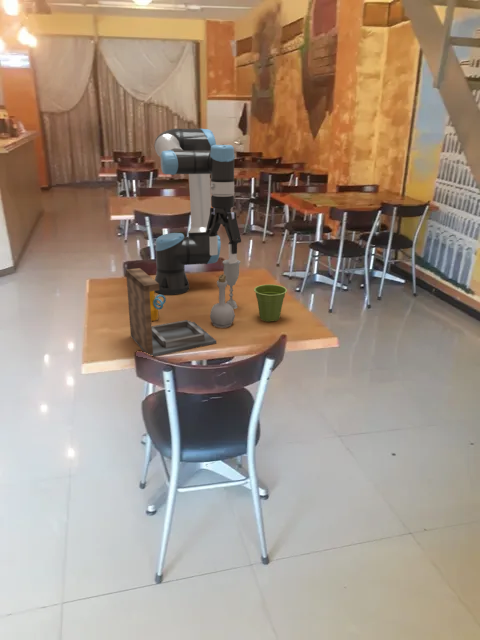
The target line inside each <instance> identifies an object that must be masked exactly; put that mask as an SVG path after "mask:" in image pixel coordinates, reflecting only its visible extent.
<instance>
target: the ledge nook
mask: <svg viewBox="0 0 480 640" xmlns="http://www.w3.org/2000/svg"><path fill="white" fill-rule="evenodd" d="M125 270H126V271H125V275H126V286H127V287H126V288H127V291H126V292H127V300H128V301H127V302H128V303H127V304H128V313H129V314H128V315H129V318H128V319H129V328H130V329H129V331H130V337H131V338H132V339H133V341H134V342H135V343H136V344H137V346H138V347H139V348H140V349H141V350H142V352H143V351H144V352H146V353H148V354H150V355H153V356H154V357H157V356H164V355H168V354H172V353H177V352H182V351H187V350H191V349H197V348H200V346H202V347H205V346H206V347H207V346H210V345H211V346H212V345H215V344H217V340H216V339H215V338H214V337H213V336H212V335H210V334H209V333H208V332H207V331H205V330H204V329H203V328H202V327H201V326H200V325H199V324H197V323H196V322H195V321H191V320H188V319H184V320H180V321H179V320H178V321H174V322H169V323H162V324H156V325H152V321H151V309H150V291H157V290H159V283H158V282H156V281H155V278H154V279H153V277H151V276H150V275H149V274H148V273H147V272H145V271H144V270H143V269H141V267H139V268H129V269H125ZM196 347H197V348H196ZM144 352H143V353H144Z"/></svg>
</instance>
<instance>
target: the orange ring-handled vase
mask: <svg viewBox="0 0 480 640" xmlns="http://www.w3.org/2000/svg"><path fill="white" fill-rule="evenodd" d="M152 278H153V277H152ZM153 279H154V280H155V278H153ZM160 297H161V298H163V301H162V299H160ZM166 300H167V299H166V296H165V294H157V295H156V292H155V291H150V309H151V322H156V321H158V320H159V318H160V317H159V311H160V310H162V309H163V307H164V305H165V303H166ZM158 302H159V303H158Z"/></svg>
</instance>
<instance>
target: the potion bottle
mask: <svg viewBox="0 0 480 640" xmlns="http://www.w3.org/2000/svg"><path fill="white" fill-rule="evenodd" d="M225 279H226V276H225V275H224V273H222V274H220V275H218V280H217V281H216V285H217V287H218V302H217V303H215V304H213V305H212V307H211V310H210V315H209V318H210V321H211V323H212V326H213V327H215V328H219V329H223V328H224V329H225V328H230V327H231V326H232V325H233V322H234V321H235V317H236V314H235V311H234V310H235V309H233V308H232V307H231V306H230V305H229V304H226V287H227V286H228V284H227V281H226V280H225Z"/></svg>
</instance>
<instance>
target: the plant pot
mask: <svg viewBox="0 0 480 640" xmlns="http://www.w3.org/2000/svg"><path fill="white" fill-rule="evenodd" d="M253 292H254V293H255V296H256V300H257V307H258V313H259V319H260V320H262V321H264V322H277V321H279V320H280V318H281V312H282V308H283V302H284V298H285V296H286V293H287V292H288V289H287V288H286V287H285V286H283V285H278V284H261V285H257V286H255V287H254V288H253Z"/></svg>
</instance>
